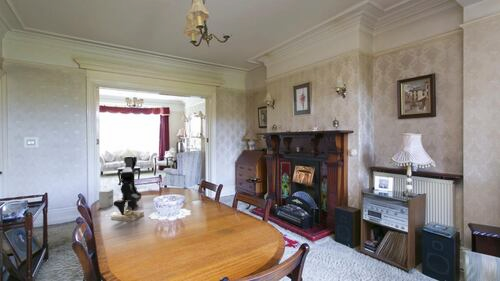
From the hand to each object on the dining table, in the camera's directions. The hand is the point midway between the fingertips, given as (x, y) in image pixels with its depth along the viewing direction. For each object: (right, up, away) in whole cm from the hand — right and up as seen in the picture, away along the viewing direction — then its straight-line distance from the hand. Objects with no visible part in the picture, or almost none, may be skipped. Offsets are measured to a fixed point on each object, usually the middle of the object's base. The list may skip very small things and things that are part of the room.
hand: (128, 212), depth 166 cm
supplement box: (-31, -3, +28) cm, 42 cm away
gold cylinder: (0, -3, 0) cm, 3 cm away
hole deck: (0, -3, 0) cm, 3 cm away
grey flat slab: (-13, -3, +6) cm, 15 cm away
